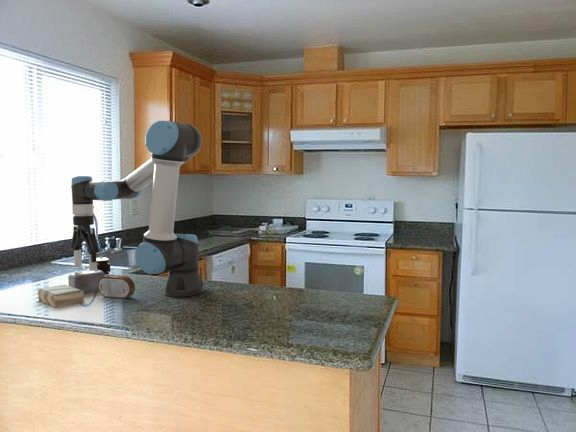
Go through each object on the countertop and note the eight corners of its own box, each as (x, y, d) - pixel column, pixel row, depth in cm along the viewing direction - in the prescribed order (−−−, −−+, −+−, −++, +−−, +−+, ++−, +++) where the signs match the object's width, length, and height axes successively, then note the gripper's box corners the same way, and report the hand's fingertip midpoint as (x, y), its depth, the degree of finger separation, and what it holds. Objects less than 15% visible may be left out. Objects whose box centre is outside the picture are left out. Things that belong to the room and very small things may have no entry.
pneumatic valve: (98, 287, 200) (96, 258, 199) (95, 282, 210) (94, 255, 209) (112, 285, 202) (110, 257, 201) (108, 280, 213) (107, 254, 212)
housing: (105, 290, 194) (104, 269, 194) (75, 296, 186) (74, 274, 185) (99, 288, 199) (97, 267, 198) (69, 293, 190) (67, 272, 189)
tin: (135, 297, 181) (134, 275, 181) (130, 299, 178) (129, 277, 178) (102, 295, 186) (101, 274, 185) (96, 297, 183) (95, 275, 182)
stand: (83, 301, 176) (83, 290, 176) (55, 307, 169) (54, 295, 169) (66, 295, 187) (65, 284, 187) (38, 300, 180) (38, 288, 180)
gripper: (107, 216, 184) (109, 270, 186) (79, 212, 201) (81, 263, 203) (87, 217, 179) (90, 273, 180) (60, 213, 196) (63, 265, 197)
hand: (85, 268), depth 192 cm, fingers open, 13 cm apart
